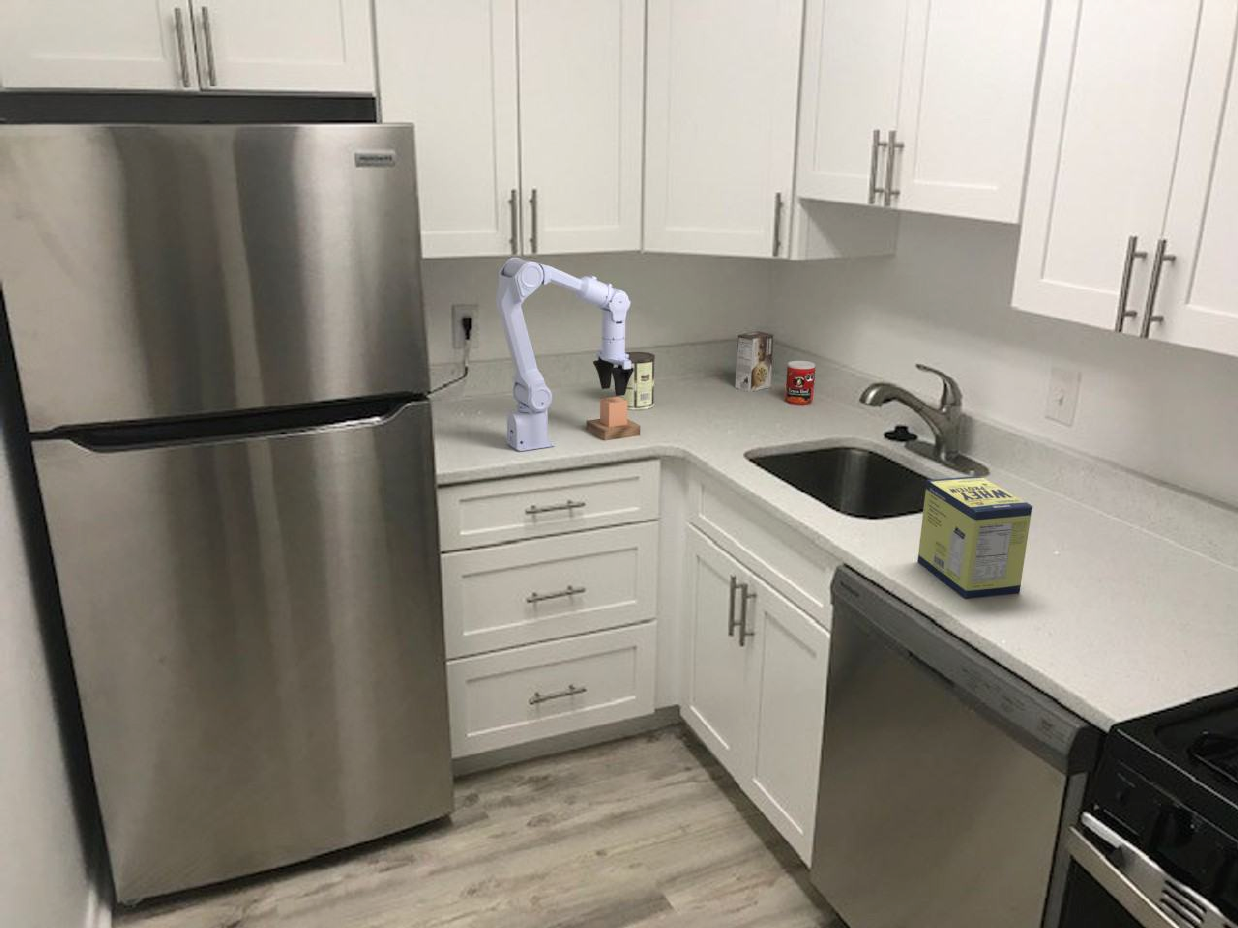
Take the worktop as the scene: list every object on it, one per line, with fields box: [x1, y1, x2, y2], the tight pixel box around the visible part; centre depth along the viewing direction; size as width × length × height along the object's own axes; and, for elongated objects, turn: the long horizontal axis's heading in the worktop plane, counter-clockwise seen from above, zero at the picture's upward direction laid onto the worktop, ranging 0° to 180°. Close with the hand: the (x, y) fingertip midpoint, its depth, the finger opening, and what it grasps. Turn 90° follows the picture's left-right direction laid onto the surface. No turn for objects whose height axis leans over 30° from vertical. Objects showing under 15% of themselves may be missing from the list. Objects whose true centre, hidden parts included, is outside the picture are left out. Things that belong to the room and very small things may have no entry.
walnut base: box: [585, 418, 641, 441], centre depth 244 cm, size 10×10×3 cm
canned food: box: [784, 360, 816, 406], centre depth 272 cm, size 8×8×11 cm
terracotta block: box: [599, 396, 628, 427], centre depth 242 cm, size 5×5×6 cm
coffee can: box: [617, 351, 656, 411], centre depth 266 cm, size 10×10×14 cm
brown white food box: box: [735, 330, 774, 393], centre depth 286 cm, size 9×6×16 cm
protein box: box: [916, 475, 1033, 599], centre depth 163 cm, size 10×16×16 cm
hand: (613, 391), depth 241 cm, fingers open, 7 cm apart
